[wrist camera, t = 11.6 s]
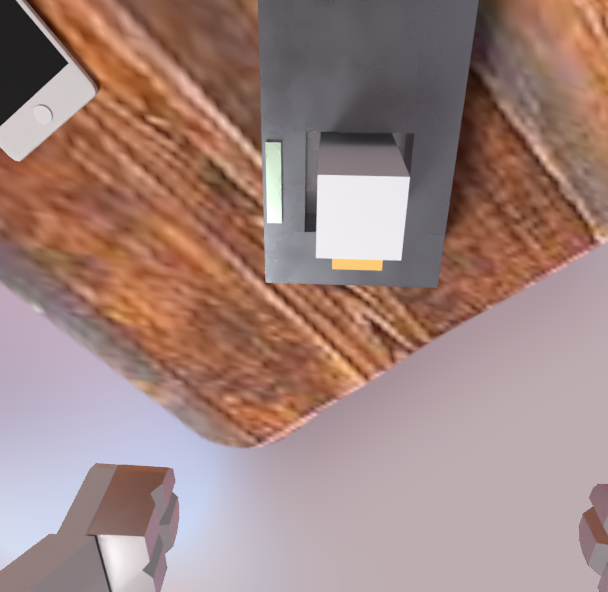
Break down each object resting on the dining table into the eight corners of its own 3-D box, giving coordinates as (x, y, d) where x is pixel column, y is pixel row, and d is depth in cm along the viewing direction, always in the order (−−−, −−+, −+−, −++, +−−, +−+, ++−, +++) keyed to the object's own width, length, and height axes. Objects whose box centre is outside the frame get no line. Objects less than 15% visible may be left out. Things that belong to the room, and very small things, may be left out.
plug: (320, 132, 31) (317, 174, 24) (392, 134, 31) (410, 176, 24) (319, 213, 33) (315, 273, 26) (385, 215, 33) (399, 275, 26)
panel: (262, -245, 24) (249, -287, 21) (492, -246, 24) (521, -289, 20) (272, 253, 36) (265, 283, 32) (427, 258, 36) (438, 289, 32)
